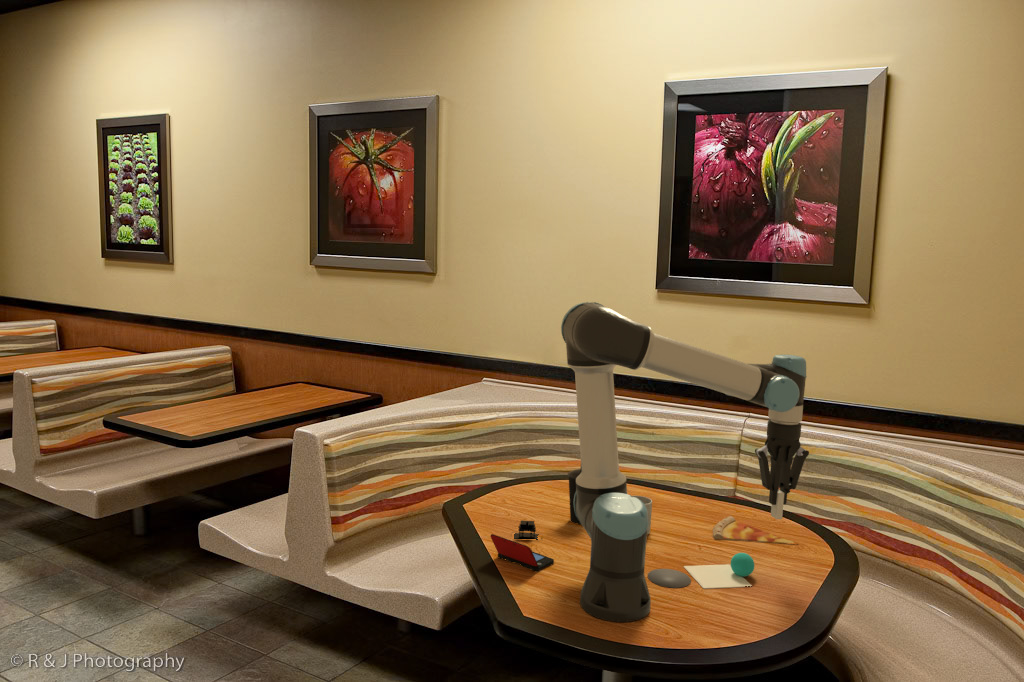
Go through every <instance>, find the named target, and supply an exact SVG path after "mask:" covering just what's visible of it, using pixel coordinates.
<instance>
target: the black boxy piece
mask: <svg viewBox="0 0 1024 682" xmlns="http://www.w3.org/2000/svg"><path fill="white" fill-rule="evenodd" d="M536 532H537V530H536V524H535V521H534V520H523V519H522V520H520V523H519V526H518V532H514V533H515V534H514V539H536V540H538V539H537V538H538V537H537V536H538V535H539V534H540V533H536ZM537 534H538V535H537Z"/></svg>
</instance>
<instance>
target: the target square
mask: <svg viewBox="0 0 1024 682" xmlns="http://www.w3.org/2000/svg"><path fill="white" fill-rule="evenodd" d="M683 568H684V569H685V570H686V571H687V572H688V574H689V575H690V576H691V577H692V578H693V579H694V580H695V581H696V583H698V585H700V587H701V588H702V589H704V590H709V589H710V590H711V589H729V588H731V589H732V588H752V587H753V585H752V584H751V583H750V582H749V581H748V580H746V579H745V577H742V576H739V575H737V574H735V573H734V572H733V570H732V568H731V563H726V564H710V565H709V564H708V565H707V564H705V565H702V564H701V565H699V564H698V565H684V566H683ZM745 586H747V587H745ZM748 586H750V587H748ZM751 586H752V587H751Z"/></svg>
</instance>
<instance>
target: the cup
mask: <svg viewBox="0 0 1024 682" xmlns="http://www.w3.org/2000/svg"><path fill="white" fill-rule="evenodd" d="M631 496H632V497H636V498H638V499H639V500H641V501H642V502H643V503H644V504H645V506H646V508H647V513H648V528H647V534H648V535H649V534H650V532H651V525H652V512H653V511H652V510H653V500H652V499H651V498H649V497H647V496H643V495H631Z"/></svg>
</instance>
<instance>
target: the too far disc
mask: <svg viewBox="0 0 1024 682" xmlns="http://www.w3.org/2000/svg"><path fill="white" fill-rule="evenodd" d="M647 578H648V580H649V582H651V583H653V584H655V585H657V586H659V587H663V588H671V589H680V588H685V587H688V586H689V585H690V584H691V582H692V580H691V579H692V578H691V577H690V576H689V575H688V574H686V573H685V572H683V571H680V570H677V569H671V568H657V569H652V570H650V571H649V572H647Z"/></svg>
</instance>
